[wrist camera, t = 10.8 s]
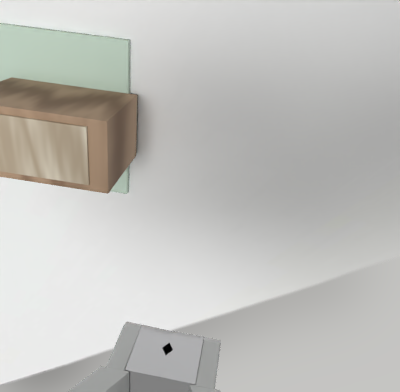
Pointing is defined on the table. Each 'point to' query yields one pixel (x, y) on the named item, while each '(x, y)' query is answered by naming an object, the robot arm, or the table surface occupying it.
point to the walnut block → (66, 134)
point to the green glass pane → (67, 62)
